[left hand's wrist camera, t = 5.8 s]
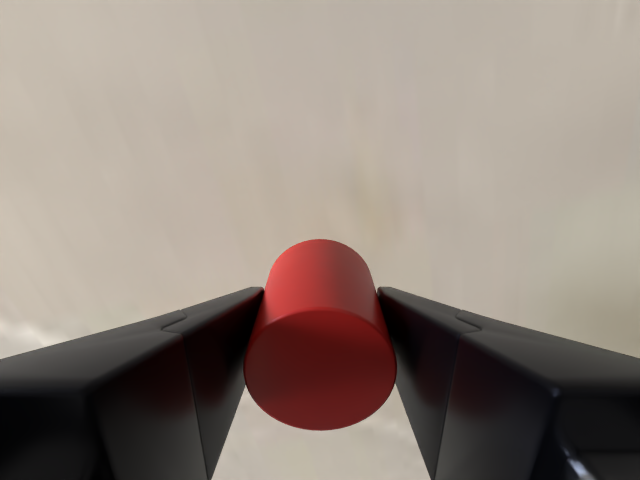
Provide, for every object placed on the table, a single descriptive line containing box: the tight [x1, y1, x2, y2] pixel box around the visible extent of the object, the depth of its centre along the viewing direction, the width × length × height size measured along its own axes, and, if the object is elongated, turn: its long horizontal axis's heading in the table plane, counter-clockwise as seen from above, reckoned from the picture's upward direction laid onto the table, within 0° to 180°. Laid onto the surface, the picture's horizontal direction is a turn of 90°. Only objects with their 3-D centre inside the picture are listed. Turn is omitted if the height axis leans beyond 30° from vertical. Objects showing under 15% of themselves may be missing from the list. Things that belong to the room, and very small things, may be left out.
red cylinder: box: [243, 239, 397, 431], centre depth 10 cm, size 4×4×4 cm
